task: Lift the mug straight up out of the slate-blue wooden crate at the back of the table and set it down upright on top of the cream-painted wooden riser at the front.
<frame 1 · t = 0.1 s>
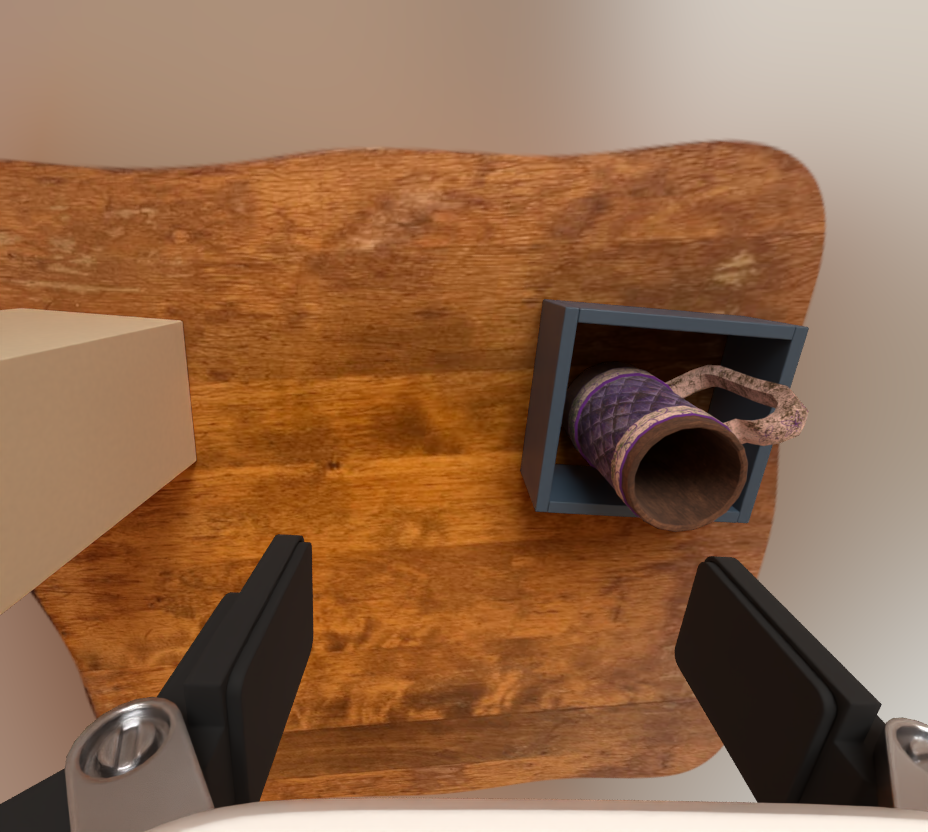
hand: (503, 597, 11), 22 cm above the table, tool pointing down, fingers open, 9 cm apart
mug: (626, 396, 33), resting in crate
crate: (627, 397, 33), on the table
riser: (114, 388, 31), on the table
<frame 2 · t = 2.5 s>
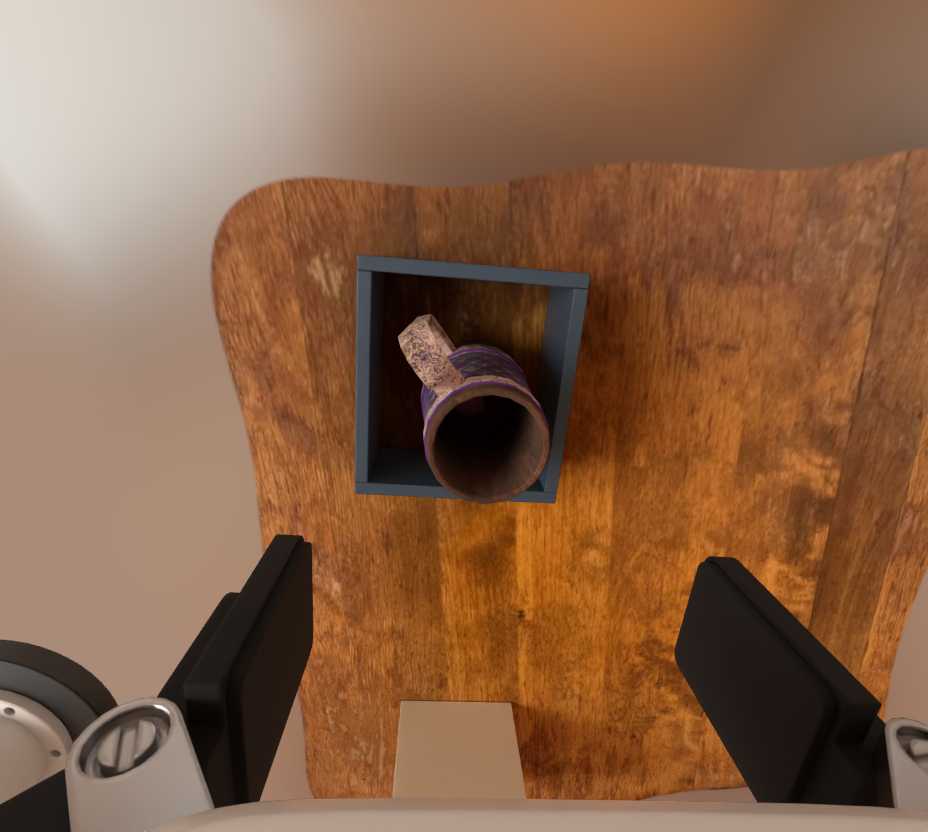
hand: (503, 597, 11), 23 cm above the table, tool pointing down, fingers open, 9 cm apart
mug: (461, 368, 33), resting in crate
crate: (461, 369, 32), on the table
riser: (452, 741, 43), on the table
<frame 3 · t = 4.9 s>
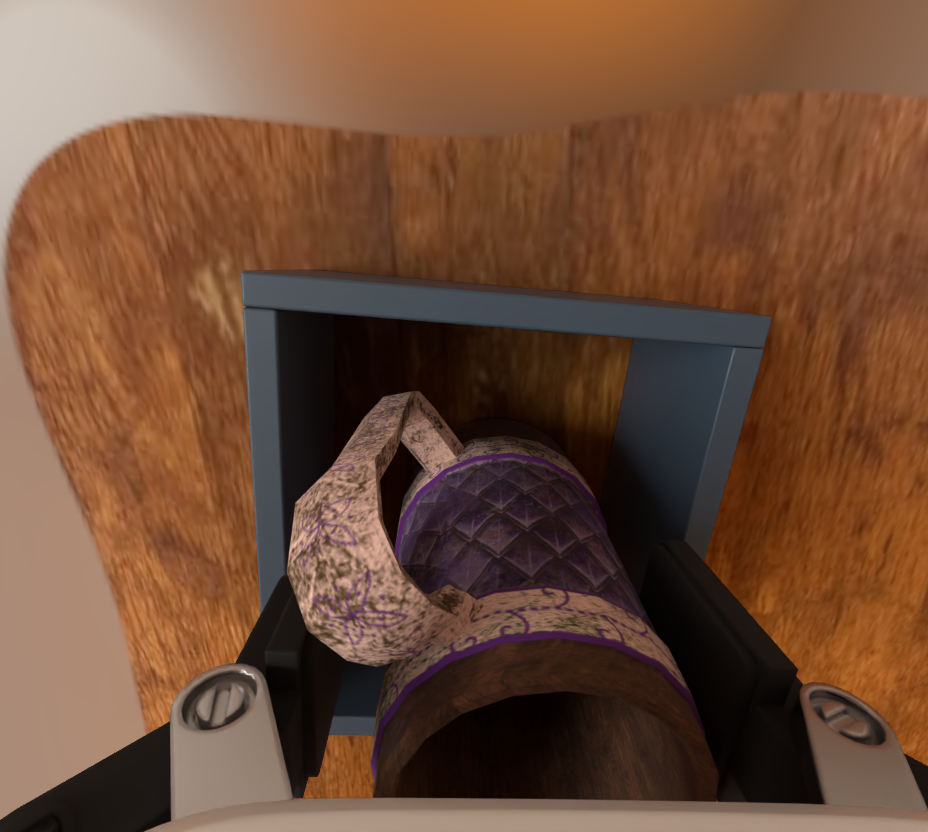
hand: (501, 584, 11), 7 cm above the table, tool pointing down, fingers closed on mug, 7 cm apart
mug: (473, 463, 19), resting in crate, touching gripper
crate: (473, 465, 19), on the table
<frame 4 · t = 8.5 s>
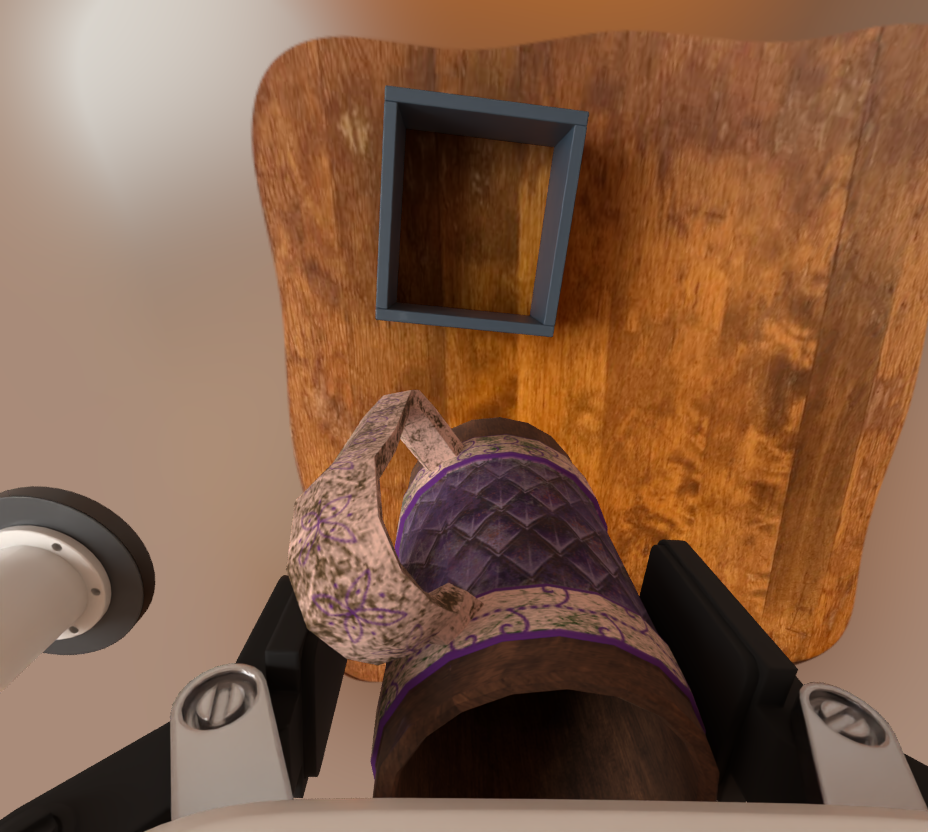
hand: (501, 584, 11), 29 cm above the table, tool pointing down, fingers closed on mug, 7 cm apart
mug: (473, 463, 19), point 22 cm above the table, touching gripper
crate: (471, 228, 36), on the table
when the fingers open (23 cm above the table, at t = 12.3 s): mug stays where it is, resting on riser.
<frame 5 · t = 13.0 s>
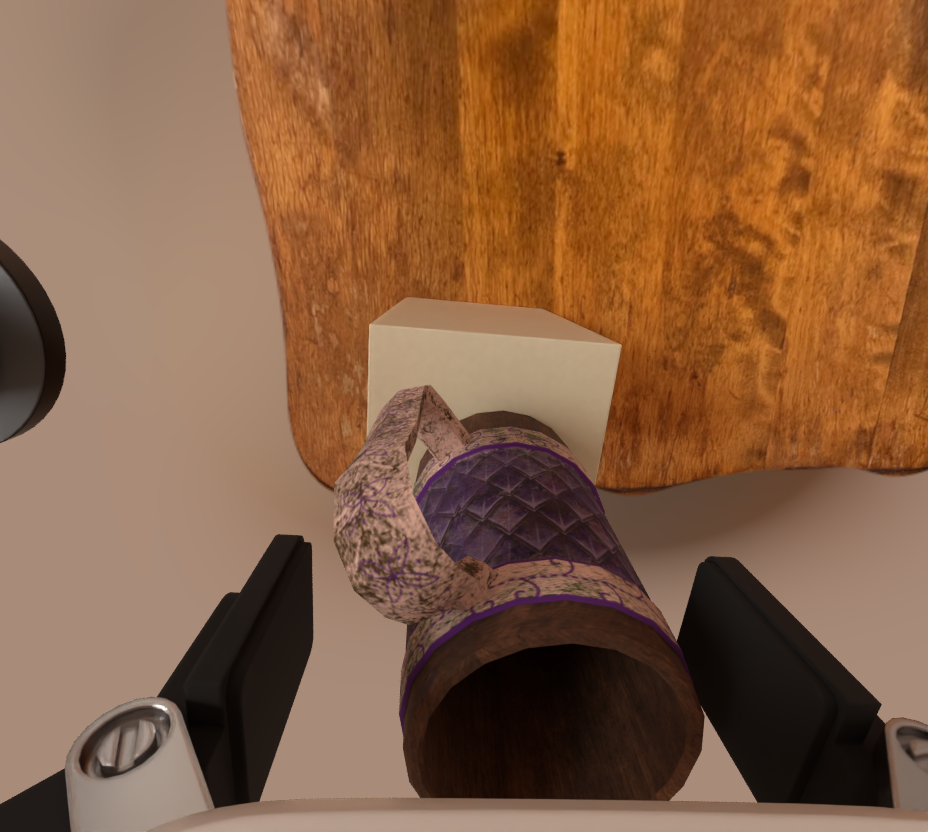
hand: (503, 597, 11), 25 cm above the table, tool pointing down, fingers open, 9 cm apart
mug: (477, 453, 20), point 16 cm above the table, touching riser
riser: (469, 370, 35), on the table
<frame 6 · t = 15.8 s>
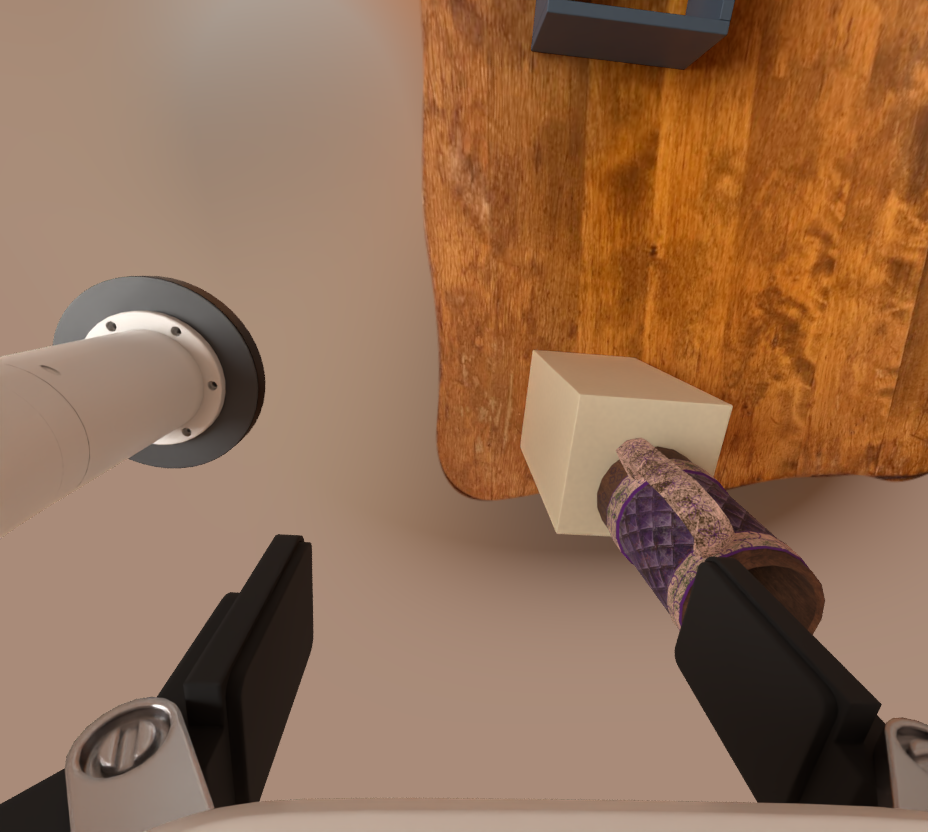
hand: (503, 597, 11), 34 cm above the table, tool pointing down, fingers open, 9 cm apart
mug: (635, 472, 31), point 16 cm above the table, touching riser
riser: (575, 403, 46), on the table
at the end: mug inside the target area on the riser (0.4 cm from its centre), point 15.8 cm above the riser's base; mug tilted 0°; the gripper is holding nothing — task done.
